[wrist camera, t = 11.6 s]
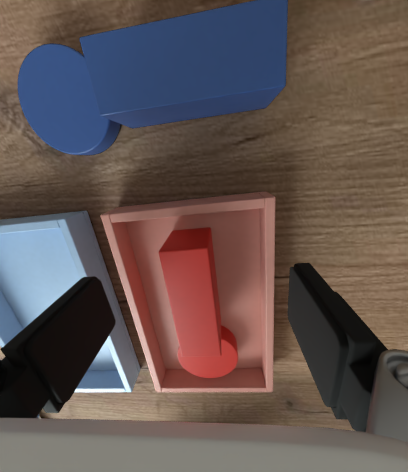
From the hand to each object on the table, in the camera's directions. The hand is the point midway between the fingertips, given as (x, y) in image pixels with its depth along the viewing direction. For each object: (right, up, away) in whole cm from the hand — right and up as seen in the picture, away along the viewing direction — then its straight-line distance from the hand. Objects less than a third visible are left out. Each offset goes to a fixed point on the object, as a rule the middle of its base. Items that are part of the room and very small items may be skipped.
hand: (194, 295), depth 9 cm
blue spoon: (-3, +10, 0) cm, 10 cm away
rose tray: (0, -2, +5) cm, 5 cm away
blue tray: (-10, -3, +6) cm, 12 cm away
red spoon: (0, -2, +4) cm, 5 cm away
